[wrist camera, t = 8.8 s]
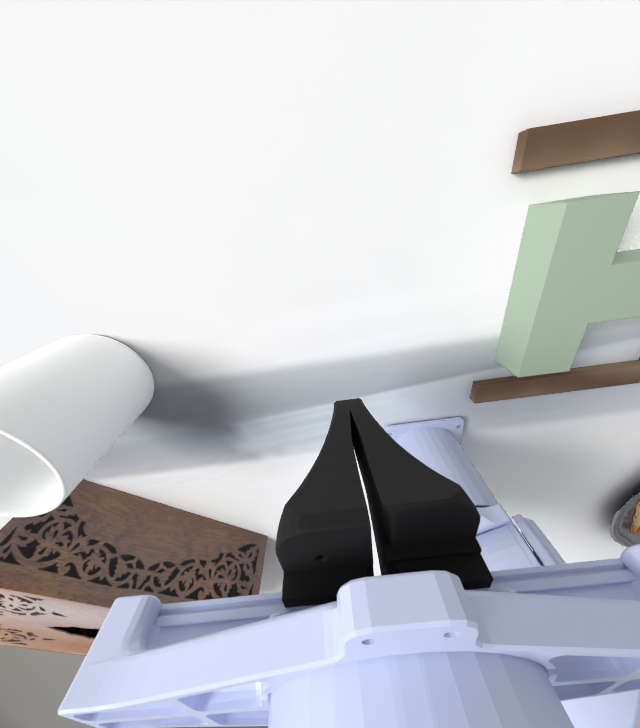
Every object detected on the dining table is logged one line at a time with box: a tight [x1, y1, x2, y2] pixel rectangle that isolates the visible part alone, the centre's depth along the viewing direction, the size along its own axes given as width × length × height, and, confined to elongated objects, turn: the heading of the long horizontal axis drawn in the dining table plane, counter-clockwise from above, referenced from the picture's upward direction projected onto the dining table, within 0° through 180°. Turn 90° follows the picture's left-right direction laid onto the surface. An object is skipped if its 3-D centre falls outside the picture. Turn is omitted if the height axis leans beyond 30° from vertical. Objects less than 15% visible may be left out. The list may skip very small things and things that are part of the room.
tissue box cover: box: [0, 480, 267, 656], centre depth 31 cm, size 26×14×10 cm, turn 57°
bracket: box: [470, 110, 640, 403], centre depth 20 cm, size 20×17×1 cm
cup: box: [0, 334, 154, 517], centre depth 18 cm, size 8×12×10 cm
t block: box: [495, 191, 640, 377], centre depth 19 cm, size 12×11×3 cm
